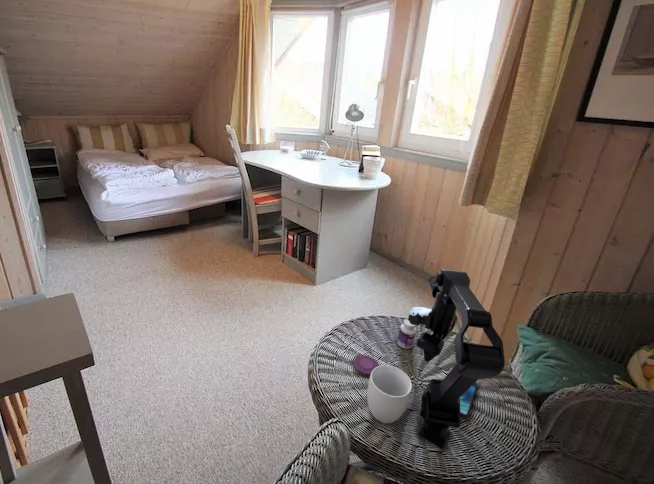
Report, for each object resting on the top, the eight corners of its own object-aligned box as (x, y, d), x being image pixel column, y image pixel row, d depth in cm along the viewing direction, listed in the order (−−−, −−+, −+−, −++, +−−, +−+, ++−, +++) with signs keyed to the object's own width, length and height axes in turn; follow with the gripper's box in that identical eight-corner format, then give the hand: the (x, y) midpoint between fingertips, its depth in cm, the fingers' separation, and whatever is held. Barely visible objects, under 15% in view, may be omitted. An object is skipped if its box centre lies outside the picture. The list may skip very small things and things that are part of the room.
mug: (386, 384, 111) (394, 352, 105) (418, 409, 103) (428, 376, 97) (355, 410, 102) (362, 377, 96) (387, 438, 94) (396, 404, 89)
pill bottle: (407, 351, 124) (413, 329, 120) (393, 343, 127) (398, 321, 123) (415, 344, 127) (420, 322, 123) (401, 336, 131) (406, 315, 127)
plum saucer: (371, 379, 112) (372, 377, 112) (349, 367, 116) (349, 364, 116) (382, 365, 118) (382, 362, 117) (360, 353, 122) (360, 351, 122)
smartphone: (477, 383, 111) (467, 416, 100) (477, 385, 111) (466, 418, 100) (452, 371, 115) (439, 401, 104) (451, 373, 115) (439, 404, 104)
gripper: (425, 285, 110) (415, 325, 117) (403, 314, 97) (393, 356, 104) (463, 299, 104) (450, 340, 111) (445, 332, 91) (432, 376, 97)
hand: (431, 352), depth 106 cm, fingers open, 9 cm apart
